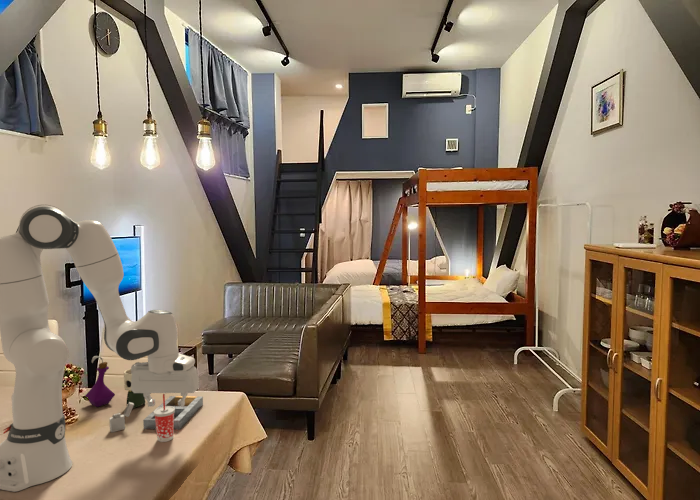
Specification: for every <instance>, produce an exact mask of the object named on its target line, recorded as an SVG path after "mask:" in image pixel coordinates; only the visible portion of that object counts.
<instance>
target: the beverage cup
mask: <svg viewBox="0 0 700 500" xmlns="http://www.w3.org/2000/svg"><path fill="white" fill-rule="evenodd" d="M165 394H166V393H162V403H163V407H160V408H157V407H156V408H157V409H156V408H155V409H156V410H155V409H154V410H153V411H154V415H155V422H156V429H155V431H156V439H157V441H158V442H160V443H164V442H169V441H171V440H173V439H174V433H175V429H174V419H175V417H174V412H175V408H174V407H172V406H165V400H166V399H165Z"/></svg>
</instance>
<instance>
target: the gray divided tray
mask: <svg viewBox="0 0 700 500" xmlns="http://www.w3.org/2000/svg"><path fill="white" fill-rule="evenodd" d="M182 397H183V396H181V395H179V396H178V395H169V397H168V398H167V399H165V406H172V407H174V408H175V412H174V430H181V429H182V428H183V427H184V426H185V425H186V424H187V423H188V422H189V421H190V419H191V418H192V417H193V416H194V415H195V414H196V413H197V412H198V410H200V409H201V407H203V405H204V397H203V396H199V395H198V396H197V395H196V396H193V395H189V396H188V395H187V396H186V398H185V405H184V406H183V407H178V401H179V400H180V399H182ZM160 407H163V402H162V403H161V404H159V406H158V407H156V408H155V409H154V410H156V409H157V408H160ZM154 410H152V411H151V412H150V413H149V414H148V415H147V416H146V417H145V418H144V419H143V420H142V423H143V425H142V426H143V429H144V430H156V422H155V415H154Z"/></svg>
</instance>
